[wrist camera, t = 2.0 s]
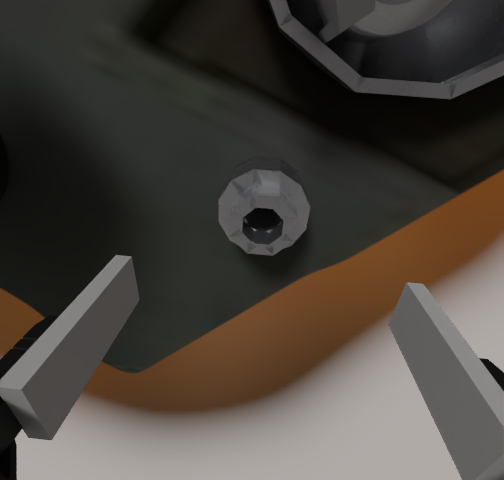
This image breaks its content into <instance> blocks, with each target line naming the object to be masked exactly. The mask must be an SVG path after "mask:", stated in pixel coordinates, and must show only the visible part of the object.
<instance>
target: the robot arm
mask: <svg viewBox="0 0 504 480" xmlns="http://www.w3.org/2000/svg"><path fill="white" fill-rule="evenodd" d="M6 182H7V164H6V158H5V153H4V150H3V147H2V144H1V141H0V198H1V196H2V195H3V193H4V190H5V187H6ZM139 300H140V299H139V294H138V288H137V283H136V277H135V272H134V267H133V261H132V256H121V255H116V256H115V257H114V258H113V259H112V260H111V261H110V262H109V263H108V264H107V265H106V266H105V267H104V269H103V270H102V271H101V272H100V273H99V274H98V275H97V276H96V277H95V278H94V279H93V280H92V281H91V283H90V284H89V285H88V286H87V287H86V288H85V289H84V290H83V291H82V292H81V293H80V294H79V295H78V297H77V298H76V299H75V300H74V301H73V302H72V303H71V304H70V305H69V306H68V307H67V308H66V309H65V311H64V312H63V313H62V314H61V315H60V316H48V317H47V318H45V319H44V320H42V321H41V322H39V323H37V324H36V325H34V327H32V328H31V329H30V330H29V331H28V332H27V333H26V334H25V335H24V337H23V339H21V340H19V342H17V343H16V344H15V345H14V347H13V349H10V351H8V353H7V354H6V355H5V356H4V357H3V358H2V359H1V360H0V480H17V478H16V442H15V437H16V436H17V434H18V433H19V432H20V430H21V429H23V430H24V432H25V433H26V434H27V436H28V437H29V438H37V439H45V440H52V439H53V437H54V436H55V434H56V432H57V431H58V429H59V428H60V426H61V424H62V423H63V421H64V420H65V418H66V416H67V415H68V413H69V412H70V410H71V408H72V407H73V405H74V404H75V402H76V400H77V399H78V397H79V396H80V394H81V393H82V391H83V389H84V388H85V386H86V385H87V383H88V381H89V380H90V378H91V377H92V375H93V373H94V372H95V370H96V369H97V367H98V365H99V364H100V362H101V361H102V359H103V357H104V356H105V354H106V353H107V351H108V349H109V348H110V346H111V345H112V343H113V341H114V340H115V338H116V337H117V335H118V333H119V332H120V330H121V329H122V327H123V325H124V324H125V322H126V321H127V319H128V317H129V316H130V314H131V313H132V311H133V309H134V308H135V306H136V305H137V303H138V301H139ZM388 325H389V327H390V329H391V331H392V333H393V335H394V337H395V339H396V342H397V344H398V346H399V348H400V350H401V352H402V354H403V356H404V358H405V360H406V362H407V364H408V367H409V369H410V371H411V373H412V375H413V377H414V379H415V381H416V383H417V386H418V387H419V390H420V392H421V394H422V396H423V398H424V400H425V402H426V404H427V407H428V409H429V411H430V413H431V415H432V417H433V419H434V421H435V423H436V425H437V428H438V429H439V432H440V434H441V436H442V438H443V440H444V442H445V444H446V446H447V449H448V451H449V452H450V455H451V457H452V459H453V461H454V463H455V465H456V467H457V469H458V472H459V474H460V476H461V478H462V480H504V373H503V372H502V371H501V370H500V369H499V368H498V367H496V366H495V365H494V364H493V363H492V362H490V361H489V360H488V359H480V358H478V357H477V355H476V354H475V353H474V351H473V350H472V348H471V347H470V346H469V345H468V343H467V342H466V340H465V339H464V338H463V337H462V335H461V334H460V332H459V331H458V330H457V329H456V327H455V326H454V324H453V323H452V322H451V320H450V319H449V318H448V316H447V315H446V314H445V312H444V311H443V310H442V308H441V307H440V306H439V305H438V303H437V302H436V300H435V299H434V298H433V296H432V295H431V294H430V293H429V291H428V290H427V288H426V287H425V286H424V284H418V283H408V282H407V283H406V285H405V287H404V290H403V292H402V294H401V297H400V299H399V301H398V303H397V305H396V308H395V310H394V312H393V315H392V317H391V319H390V322H389V324H388Z"/></svg>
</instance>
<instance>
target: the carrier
mask: <svg viewBox="0 0 504 480" xmlns="http://www.w3.org/2000/svg"><path fill="white" fill-rule="evenodd" d="M267 2H268V4H269V7H270V9H271V11H272V14H273V17H274V20H275V22H276V25H277V28H278V31H279V32H280V33H281V34H282V35H283V36H284V37H286V38H287V39H288V40H289V41H290V42H292V43H293V44H294V46H295V47H296V48H297V49H298V50H299V51H300V52H301V53H302V54H303V55H304V56H305V57H306V58H307V59H308V60H309V61H310V62H311V63H312V64H313V65H314V66H316V67H317V68H319V69H320V70H321V71H323V72H324V73H326V74H327V75H328V76H330V77H332V78H334V79H335V80H336V81H338V82H339V83H340V84H341V85H342V86H344V87H345V88H346V89H347V90H348V91H350V92H361V93H374V94H388V95H401V96H415V97H428V98H442V99H452V98H454V97H457V96H459V95H461V94H463V93H465V92H468V91H470V90H472V89H474V88H476V87H479V86H481V85H483V84H485V83H487V82H490V81H492V80H494V79H496V78H498V77H501V76H503V75H504V0H375V10H374V11H373V12H371V13H370V14H368V15H367V16H365V17H364V18H362V19H361V20H359V21H358V22H356V23H355V24H353V25H352V26H350V27H349V28H348V29H346V30H345V31H343V32H342V33H340V34H339V35H337V36H336V37H334V38H333V39H331V40H330V41H328V42H327V43H325V44H324V43H322V42H321V41H320V39H319V37H318V34H319V33H320V32H321V31H322V30H323V29H324V27H325V26H324V24H323V21H322V18H321V15H320V13H319V10H318V7H317V4H316V1H315V0H267Z"/></svg>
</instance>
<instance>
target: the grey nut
mask: <svg viewBox="0 0 504 480" xmlns="http://www.w3.org/2000/svg"><path fill="white" fill-rule="evenodd" d="M257 208H266V209H270V210H267V211H266V210H258V209H257ZM309 211H310V204H309V201H308V198H307V195H306V192H305V189H304V187H303V184H302V182H301V180H300V177H299V175H298V172H297V170H296V169H294V168H293V167H291V166H290V165H289V164H287V163H286V162H284V161H283V160H282V159H280V158H278V157H265V156H256V157H254V158H251V159H249V160H247V161H245V162H243V163H241V164H239V165H237V167H236V168H235V170H234V171H233V173H232V175H231V176H230V178H229V179H228V181H227V182H226V184H225V186H224V189H223V191H222V193H221V195H220V198H219V223H220V225H221V226H222V228H223V230H224V231H225V233H226V235H227V236H228V238H229V240H230V241H232V242H234V243H235V244H237V245H239V246H240V247H241V248H242V249H243V250H244V251H245V252H246V253H248V254H260V255H271V256H273V255H275V254H276V253H278V252H279V251H280V250H282V249H284V248H286V247H289V246H292V245H293V243H294V242H295V241H296V240H297V239H298V238H299V237H300V236H301V234H302V233H303V232H304V231H305V230H306V227H307V222H308V217H309Z"/></svg>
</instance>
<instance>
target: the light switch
mask: <svg viewBox="0 0 504 480" xmlns="http://www.w3.org/2000/svg"><path fill="white" fill-rule="evenodd" d="M315 1H316V4H317V7H318V10H319V13H320V15H321V18H322V21H323V24H324V26H325V27H324V29H323V30H322V31H321V32H320V33H319V34H318V37H319V39H320V41H321V42H322V43H324V44H325V43H327V42H328V41H330V40H331V39H333V38H334V37H336V36H337V35H339V34H340V33H342V32H343V31H345V30H346V29H348V28H349V27H350V26H352V25H353V24H355V23H356V22H358V21H359V20H361V19H362V18H364V17H365V16H367V15H368V14H370V13H371V12H373V11H374V10H375V0H315Z"/></svg>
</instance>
